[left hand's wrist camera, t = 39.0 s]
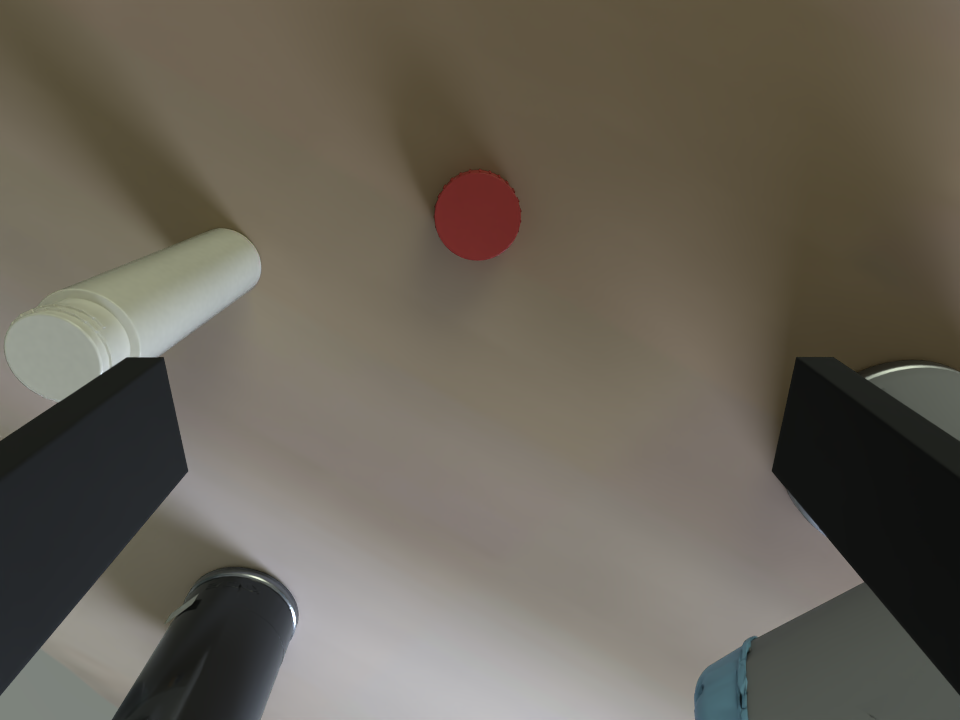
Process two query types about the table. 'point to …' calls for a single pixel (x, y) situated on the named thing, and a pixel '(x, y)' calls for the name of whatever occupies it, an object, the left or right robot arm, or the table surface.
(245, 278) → the bottle
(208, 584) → the right robot arm
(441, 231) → the lid
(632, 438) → the table surface
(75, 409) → the left robot arm
